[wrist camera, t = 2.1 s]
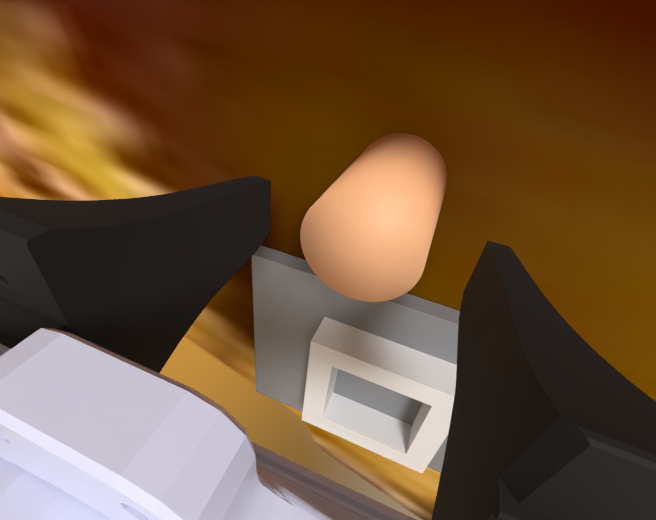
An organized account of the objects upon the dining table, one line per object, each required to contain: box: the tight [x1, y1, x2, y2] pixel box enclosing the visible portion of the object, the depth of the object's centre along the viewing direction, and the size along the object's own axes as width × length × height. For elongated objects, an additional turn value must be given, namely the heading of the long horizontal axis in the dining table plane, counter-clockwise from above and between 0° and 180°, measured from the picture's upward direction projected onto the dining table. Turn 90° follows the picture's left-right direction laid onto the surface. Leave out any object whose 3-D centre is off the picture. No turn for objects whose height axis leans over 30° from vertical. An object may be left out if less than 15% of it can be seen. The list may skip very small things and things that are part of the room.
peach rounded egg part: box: [300, 133, 447, 302], centre depth 13 cm, size 4×4×6 cm
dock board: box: [252, 246, 460, 473], centre depth 22 cm, size 18×14×3 cm
